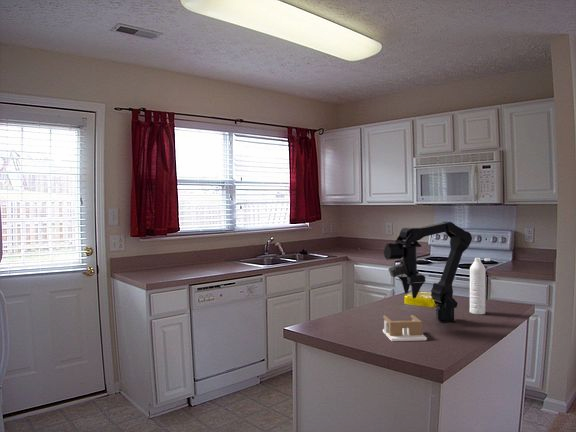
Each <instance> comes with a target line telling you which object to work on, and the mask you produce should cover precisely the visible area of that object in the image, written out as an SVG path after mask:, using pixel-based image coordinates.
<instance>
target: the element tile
mask: <svg viewBox="0 0 576 432" xmlns="http://www.w3.org/2000/svg"><path fill="white" fill-rule="evenodd" d="M403 297H404V302H403V303H404V305H408V306H415V307H416V306H418V307H424V306H425V308H437V304H435V302H434V300H433V299H432V297H431V292H427V291H419V292H418V294H417V296H416V298H413V297H412V291H410V292H408V293H406V294H405V295H404V296H403Z"/></svg>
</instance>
